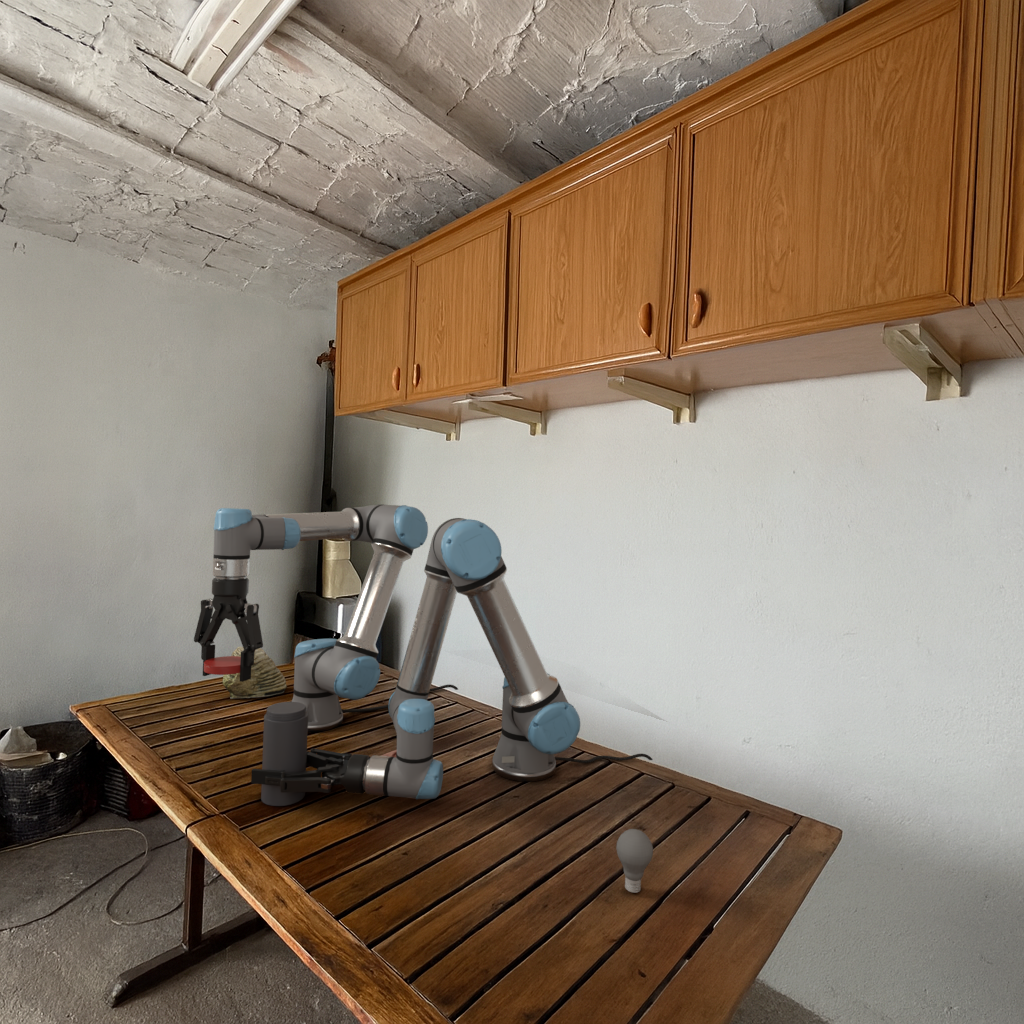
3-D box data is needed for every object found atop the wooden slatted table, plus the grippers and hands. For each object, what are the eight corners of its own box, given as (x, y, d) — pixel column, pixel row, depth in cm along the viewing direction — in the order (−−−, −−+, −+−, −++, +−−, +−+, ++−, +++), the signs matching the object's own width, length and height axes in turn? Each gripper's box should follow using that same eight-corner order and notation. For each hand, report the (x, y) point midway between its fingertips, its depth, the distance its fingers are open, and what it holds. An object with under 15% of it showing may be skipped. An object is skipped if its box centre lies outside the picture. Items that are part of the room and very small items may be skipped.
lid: (228, 661, 148) (228, 654, 148) (258, 667, 144) (258, 659, 144) (194, 670, 139) (194, 662, 139) (225, 677, 136) (225, 668, 136)
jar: (306, 785, 139) (309, 700, 138) (303, 804, 130) (307, 713, 130) (263, 788, 136) (267, 701, 136) (258, 807, 128) (261, 715, 128)
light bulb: (610, 879, 108) (613, 822, 108) (644, 879, 109) (647, 822, 109) (619, 902, 102) (622, 840, 102) (655, 901, 103) (658, 840, 103)
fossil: (218, 695, 195) (220, 647, 195) (278, 685, 208) (279, 640, 207) (228, 703, 189) (230, 653, 188) (289, 692, 201) (290, 645, 201)
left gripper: (177, 575, 141) (173, 675, 141) (261, 583, 135) (256, 687, 135) (203, 571, 148) (199, 667, 148) (283, 579, 142) (279, 679, 142)
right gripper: (349, 818, 121) (236, 808, 123) (381, 770, 143) (284, 763, 144) (351, 779, 121) (237, 770, 123) (383, 737, 142) (286, 730, 144)
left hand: (226, 677), depth 142 cm, fingers closed on lid, 9 cm apart
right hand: (263, 766), depth 134 cm, fingers closed on jar, 9 cm apart
